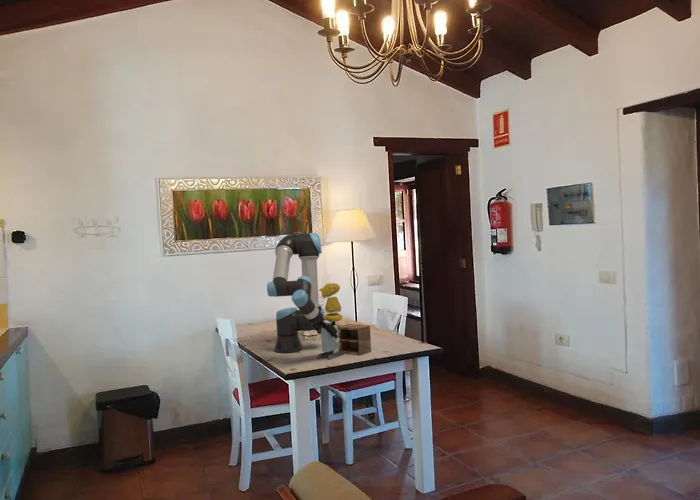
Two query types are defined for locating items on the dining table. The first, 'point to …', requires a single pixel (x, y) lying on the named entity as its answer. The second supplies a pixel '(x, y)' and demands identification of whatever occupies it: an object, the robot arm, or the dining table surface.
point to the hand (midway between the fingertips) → (334, 340)
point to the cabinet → (351, 341)
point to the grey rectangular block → (328, 341)
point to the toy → (331, 302)
